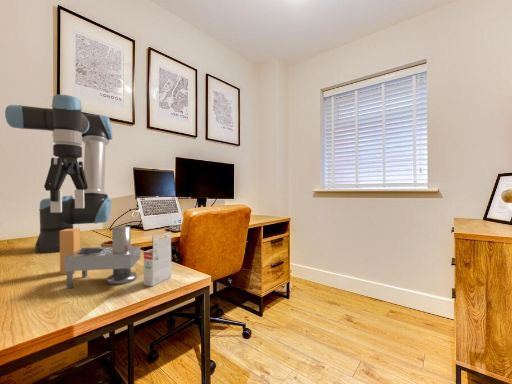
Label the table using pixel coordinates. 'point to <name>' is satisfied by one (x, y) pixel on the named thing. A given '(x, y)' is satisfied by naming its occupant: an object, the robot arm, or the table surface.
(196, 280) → the table surface
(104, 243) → the mug
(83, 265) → the legged grey stand
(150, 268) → the ink box
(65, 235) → the orange rectangular prism
